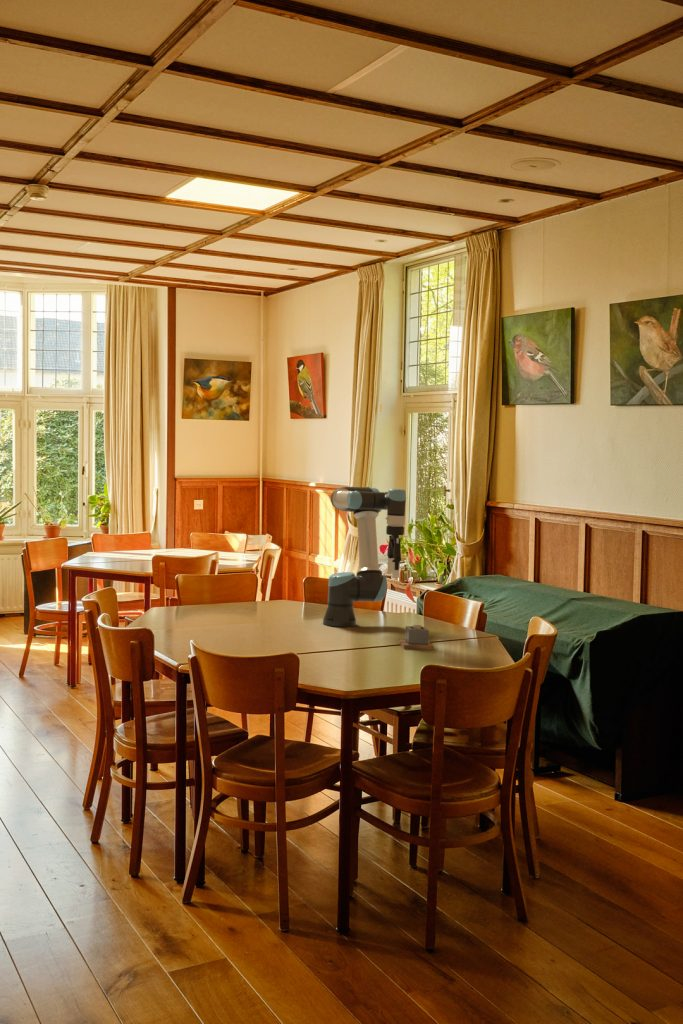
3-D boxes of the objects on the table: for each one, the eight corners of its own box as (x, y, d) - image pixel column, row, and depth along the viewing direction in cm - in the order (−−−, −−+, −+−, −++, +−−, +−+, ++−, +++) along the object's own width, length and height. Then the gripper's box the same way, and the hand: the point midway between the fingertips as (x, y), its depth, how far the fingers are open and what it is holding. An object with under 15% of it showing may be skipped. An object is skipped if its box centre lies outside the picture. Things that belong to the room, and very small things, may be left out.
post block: (399, 643, 414) (400, 622, 413) (427, 643, 415) (428, 623, 415) (404, 649, 402) (405, 628, 402) (433, 649, 404) (434, 628, 403)
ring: (404, 640, 412) (405, 626, 412) (424, 640, 413) (424, 626, 413) (408, 644, 404) (409, 629, 404) (427, 644, 405) (428, 630, 405)
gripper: (382, 522, 434) (379, 571, 435) (391, 527, 409) (389, 579, 410) (399, 523, 435) (396, 572, 436) (409, 528, 410) (407, 579, 411)
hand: (393, 575), depth 423 cm, fingers open, 13 cm apart
